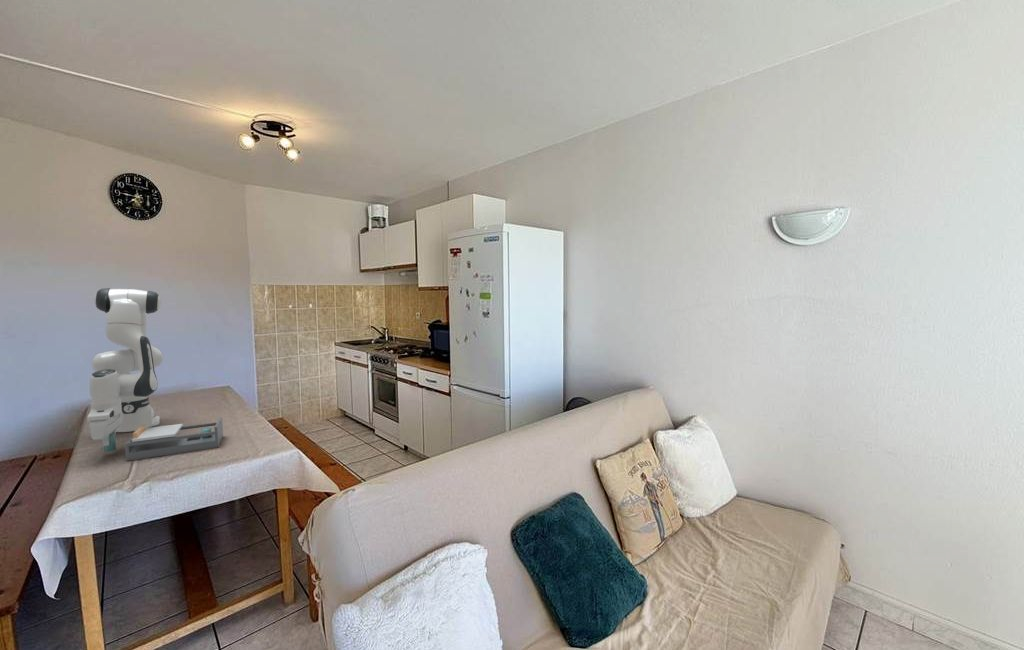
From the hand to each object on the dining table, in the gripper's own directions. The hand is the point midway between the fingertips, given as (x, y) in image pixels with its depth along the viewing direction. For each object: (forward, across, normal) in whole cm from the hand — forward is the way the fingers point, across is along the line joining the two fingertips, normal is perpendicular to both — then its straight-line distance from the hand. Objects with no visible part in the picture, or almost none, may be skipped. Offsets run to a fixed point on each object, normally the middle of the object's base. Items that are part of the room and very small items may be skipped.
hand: (109, 442), depth 168 cm
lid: (-2, +3, +17) cm, 17 cm away
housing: (+5, +3, +23) cm, 24 cm away
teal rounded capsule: (+3, 0, 0) cm, 3 cm away
